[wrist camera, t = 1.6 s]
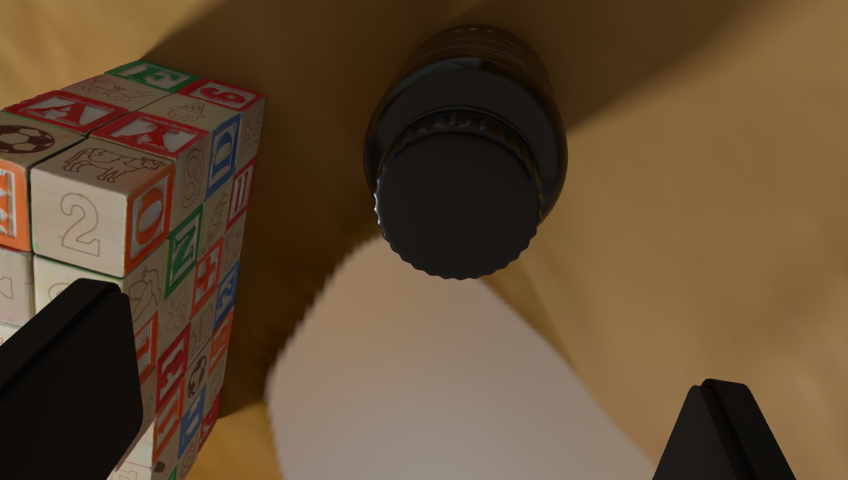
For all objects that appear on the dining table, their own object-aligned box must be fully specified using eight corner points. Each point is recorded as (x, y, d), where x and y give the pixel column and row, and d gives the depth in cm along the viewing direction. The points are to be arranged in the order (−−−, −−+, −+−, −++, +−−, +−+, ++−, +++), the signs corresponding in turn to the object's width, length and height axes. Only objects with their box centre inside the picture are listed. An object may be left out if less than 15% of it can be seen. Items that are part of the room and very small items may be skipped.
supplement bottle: (547, 173, 29) (569, 319, 19) (402, 171, 30) (344, 310, 20) (558, 17, 26) (590, 88, 16) (395, 19, 27) (322, 88, 17)
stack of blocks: (221, 421, 39) (111, 614, 29) (123, 393, 39) (-24, 577, 28) (267, 91, 29) (125, 196, 19) (136, 53, 29) (-83, 136, 18)
